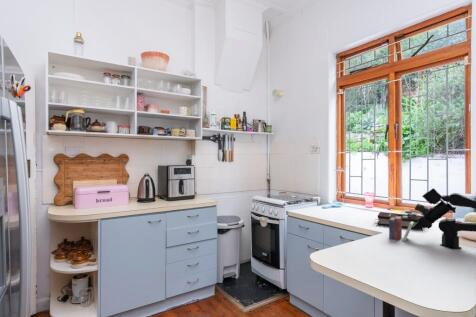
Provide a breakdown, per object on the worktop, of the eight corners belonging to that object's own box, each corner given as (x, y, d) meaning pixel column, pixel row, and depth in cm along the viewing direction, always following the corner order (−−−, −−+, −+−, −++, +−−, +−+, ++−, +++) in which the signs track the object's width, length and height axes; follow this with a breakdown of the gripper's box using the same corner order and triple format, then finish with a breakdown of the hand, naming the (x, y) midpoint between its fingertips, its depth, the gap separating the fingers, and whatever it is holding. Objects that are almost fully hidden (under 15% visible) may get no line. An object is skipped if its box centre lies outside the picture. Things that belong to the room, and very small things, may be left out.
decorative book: (376, 210, 204) (426, 214, 188) (376, 220, 204) (426, 225, 188) (373, 214, 188) (427, 219, 171) (373, 225, 188) (427, 231, 171)
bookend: (406, 237, 156) (413, 222, 154) (404, 241, 149) (412, 224, 147) (404, 236, 156) (411, 221, 154) (402, 240, 150) (409, 223, 148)
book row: (401, 237, 157) (401, 216, 157) (399, 241, 151) (399, 219, 151) (391, 236, 160) (391, 215, 160) (389, 239, 154) (389, 217, 154)
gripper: (426, 197, 154) (403, 214, 161) (423, 201, 140) (398, 220, 146) (444, 213, 149) (419, 230, 156) (443, 219, 135) (416, 237, 142)
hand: (413, 229), depth 150 cm, fingers closed
